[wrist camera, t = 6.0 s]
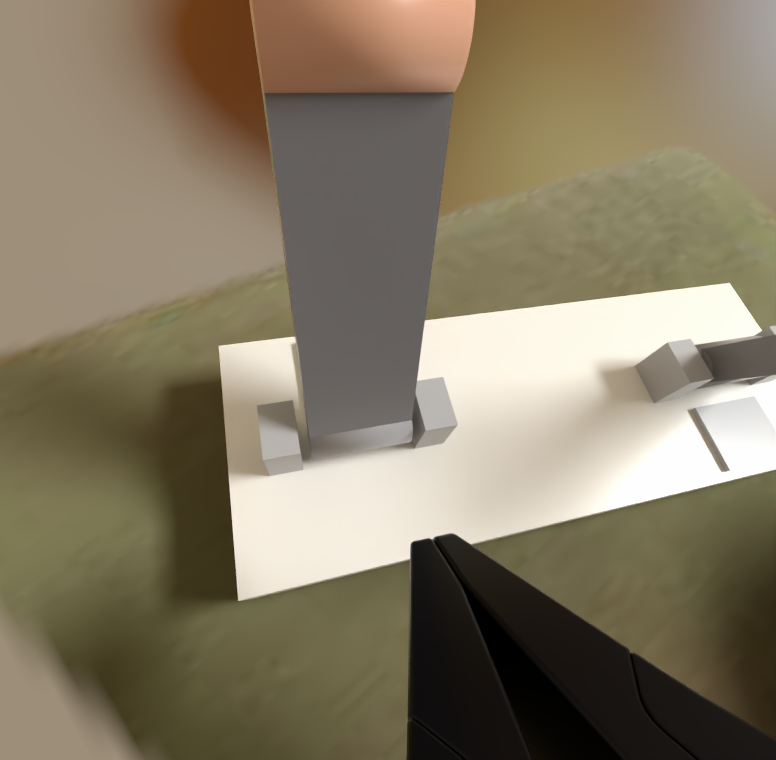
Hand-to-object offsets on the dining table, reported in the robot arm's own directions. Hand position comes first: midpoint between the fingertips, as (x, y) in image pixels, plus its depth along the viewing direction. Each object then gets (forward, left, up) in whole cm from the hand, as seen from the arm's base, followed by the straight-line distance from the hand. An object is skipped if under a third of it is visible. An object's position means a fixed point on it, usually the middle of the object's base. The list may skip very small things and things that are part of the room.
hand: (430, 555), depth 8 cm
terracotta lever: (+3, -3, -4) cm, 6 cm away
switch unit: (-2, -8, -7) cm, 11 cm away
